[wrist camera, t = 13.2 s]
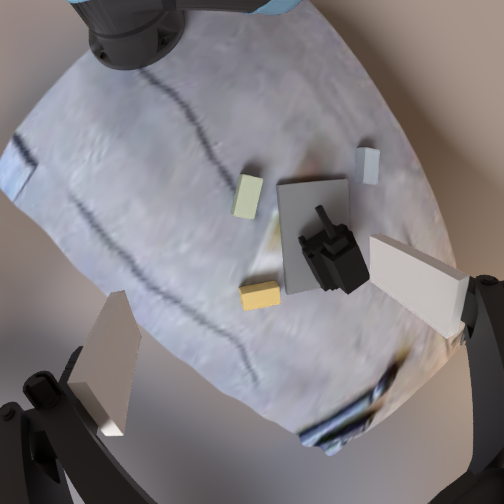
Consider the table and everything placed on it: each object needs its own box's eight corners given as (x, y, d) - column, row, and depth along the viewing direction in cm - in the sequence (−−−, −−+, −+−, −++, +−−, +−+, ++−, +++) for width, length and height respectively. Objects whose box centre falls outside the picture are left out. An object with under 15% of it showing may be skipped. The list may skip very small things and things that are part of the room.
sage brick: (239, 174, 42) (242, 174, 39) (258, 178, 42) (263, 179, 40) (230, 212, 43) (233, 215, 40) (249, 216, 44) (253, 219, 41)
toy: (316, 188, 43) (348, 194, 34) (349, 259, 48) (382, 280, 39) (276, 212, 43) (300, 224, 34) (315, 283, 48) (342, 309, 38)
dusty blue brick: (356, 147, 44) (365, 147, 41) (369, 150, 45) (379, 150, 42) (353, 181, 46) (363, 183, 43) (367, 183, 46) (377, 185, 43)
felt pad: (276, 185, 43) (278, 185, 42) (344, 178, 45) (347, 179, 44) (285, 291, 48) (287, 294, 47) (346, 278, 50) (350, 280, 49)
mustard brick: (241, 302, 48) (244, 311, 45) (238, 286, 47) (241, 294, 44) (275, 295, 48) (280, 303, 46) (274, 280, 48) (279, 287, 45)
